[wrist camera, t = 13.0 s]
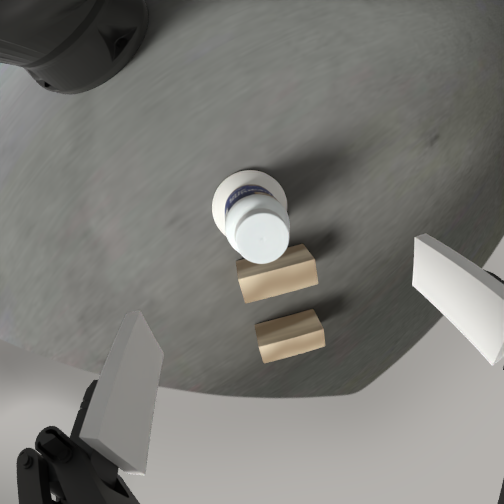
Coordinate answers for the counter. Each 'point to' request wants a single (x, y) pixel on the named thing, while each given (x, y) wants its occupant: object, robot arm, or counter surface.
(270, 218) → the pill bottle
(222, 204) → the pad
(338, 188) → the counter surface
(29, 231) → the counter surface
